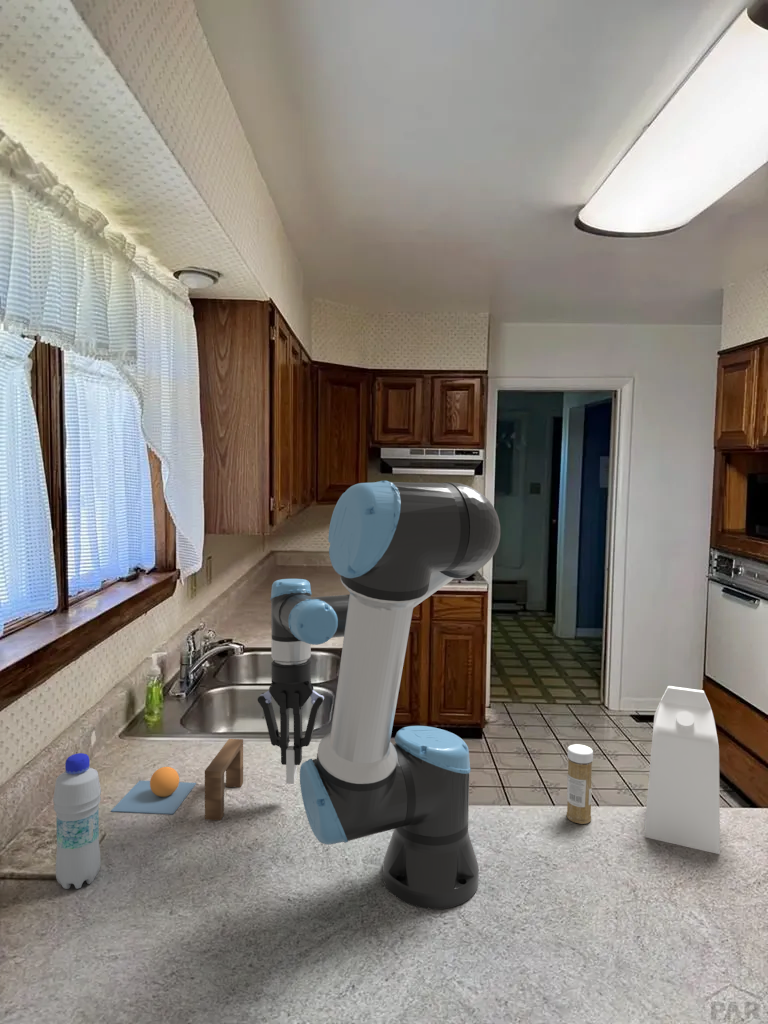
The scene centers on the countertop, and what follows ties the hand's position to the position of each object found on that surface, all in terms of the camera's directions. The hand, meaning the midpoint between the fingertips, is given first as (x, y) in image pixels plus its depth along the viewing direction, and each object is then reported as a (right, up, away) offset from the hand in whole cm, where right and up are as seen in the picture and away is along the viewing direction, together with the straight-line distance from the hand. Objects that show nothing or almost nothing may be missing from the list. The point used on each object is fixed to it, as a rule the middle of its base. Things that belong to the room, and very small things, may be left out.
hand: (291, 780), depth 121 cm
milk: (+72, -6, -7) cm, 73 cm away
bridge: (-13, -5, +2) cm, 14 cm away
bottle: (-30, -6, -23) cm, 38 cm away
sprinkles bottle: (+55, -6, -4) cm, 55 cm away
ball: (-26, -2, +3) cm, 26 cm away
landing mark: (-27, -4, +2) cm, 28 cm away
